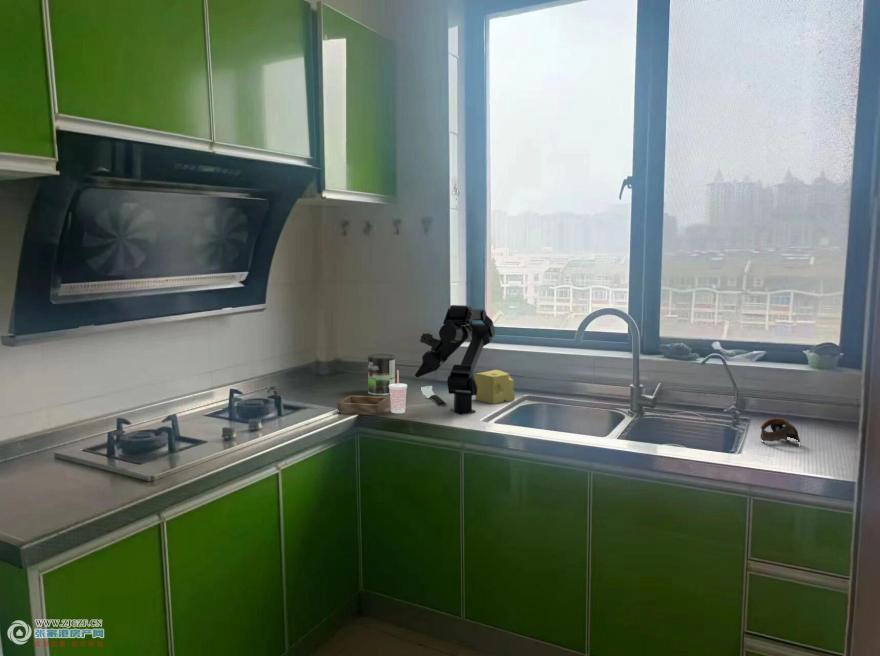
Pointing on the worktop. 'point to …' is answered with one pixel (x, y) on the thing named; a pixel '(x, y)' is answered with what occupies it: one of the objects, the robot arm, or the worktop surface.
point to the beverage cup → (398, 396)
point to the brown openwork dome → (778, 430)
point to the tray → (363, 405)
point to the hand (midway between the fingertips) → (418, 373)
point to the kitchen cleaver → (432, 395)
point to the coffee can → (380, 373)
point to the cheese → (494, 387)
